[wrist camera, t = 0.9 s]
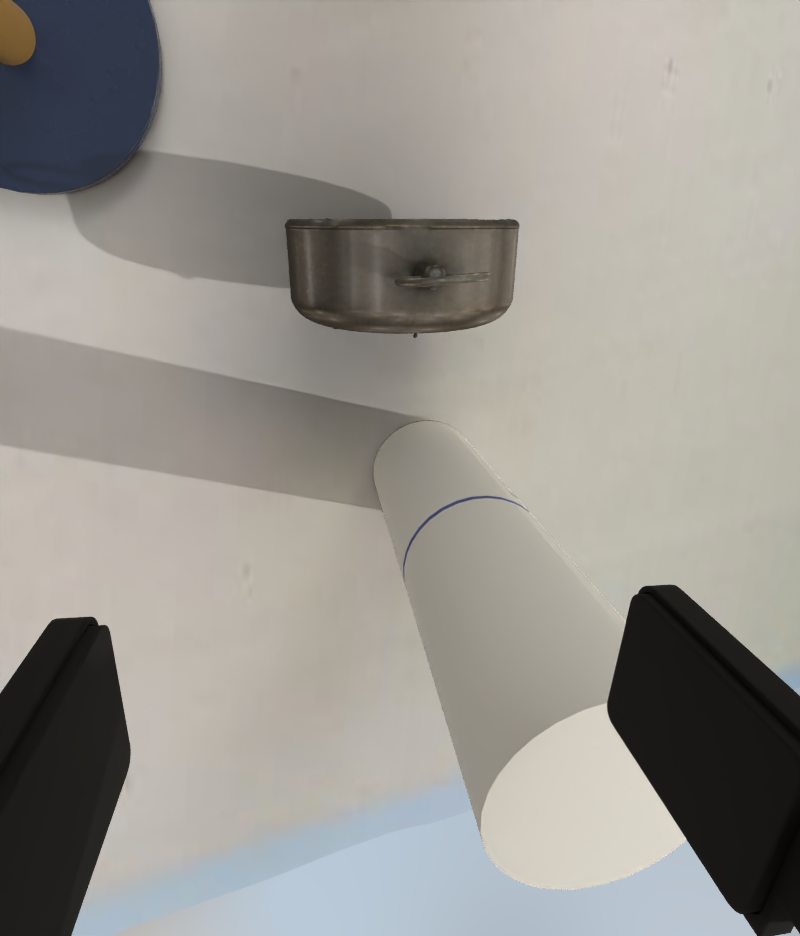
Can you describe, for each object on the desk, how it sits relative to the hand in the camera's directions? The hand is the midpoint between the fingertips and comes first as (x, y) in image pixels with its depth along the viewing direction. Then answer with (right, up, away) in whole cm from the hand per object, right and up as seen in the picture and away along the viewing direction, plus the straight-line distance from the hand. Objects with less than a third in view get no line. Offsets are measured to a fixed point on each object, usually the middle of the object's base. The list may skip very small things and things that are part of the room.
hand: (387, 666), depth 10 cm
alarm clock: (-1, +15, +23) cm, 28 cm away
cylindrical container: (+2, +3, +28) cm, 28 cm away
